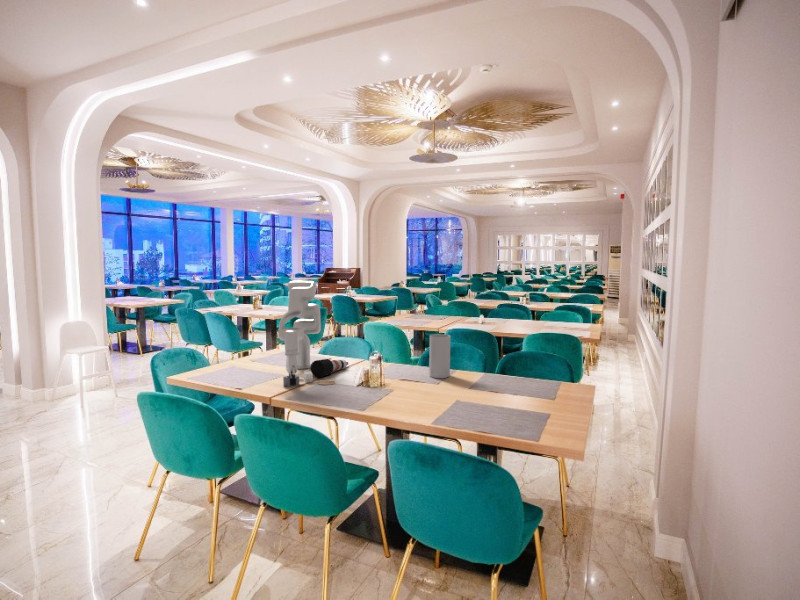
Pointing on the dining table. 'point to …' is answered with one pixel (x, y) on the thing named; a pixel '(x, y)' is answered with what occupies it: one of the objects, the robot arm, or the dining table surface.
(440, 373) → the cylinder vase
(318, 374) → the black capped bottle
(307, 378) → the cream plug
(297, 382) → the grey plug
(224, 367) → the dining table surface
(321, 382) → the cork coaster
